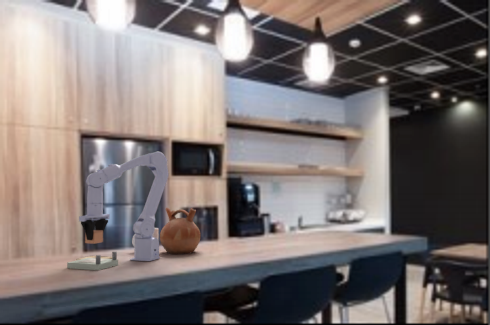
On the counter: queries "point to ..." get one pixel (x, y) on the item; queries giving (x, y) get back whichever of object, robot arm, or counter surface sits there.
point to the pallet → (95, 257)
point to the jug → (180, 233)
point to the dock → (94, 263)
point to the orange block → (95, 237)
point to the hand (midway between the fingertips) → (94, 239)
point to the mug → (155, 234)
